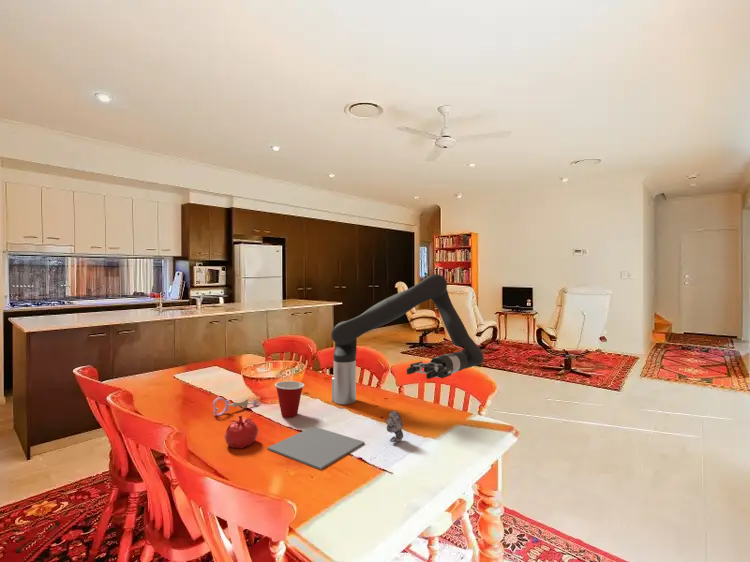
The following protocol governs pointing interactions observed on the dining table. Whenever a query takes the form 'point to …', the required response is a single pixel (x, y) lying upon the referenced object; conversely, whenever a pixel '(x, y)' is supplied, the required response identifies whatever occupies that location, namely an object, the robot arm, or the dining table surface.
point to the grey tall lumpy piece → (395, 426)
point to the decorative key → (243, 404)
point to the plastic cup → (289, 397)
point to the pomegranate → (241, 433)
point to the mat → (316, 447)
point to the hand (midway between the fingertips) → (417, 373)
